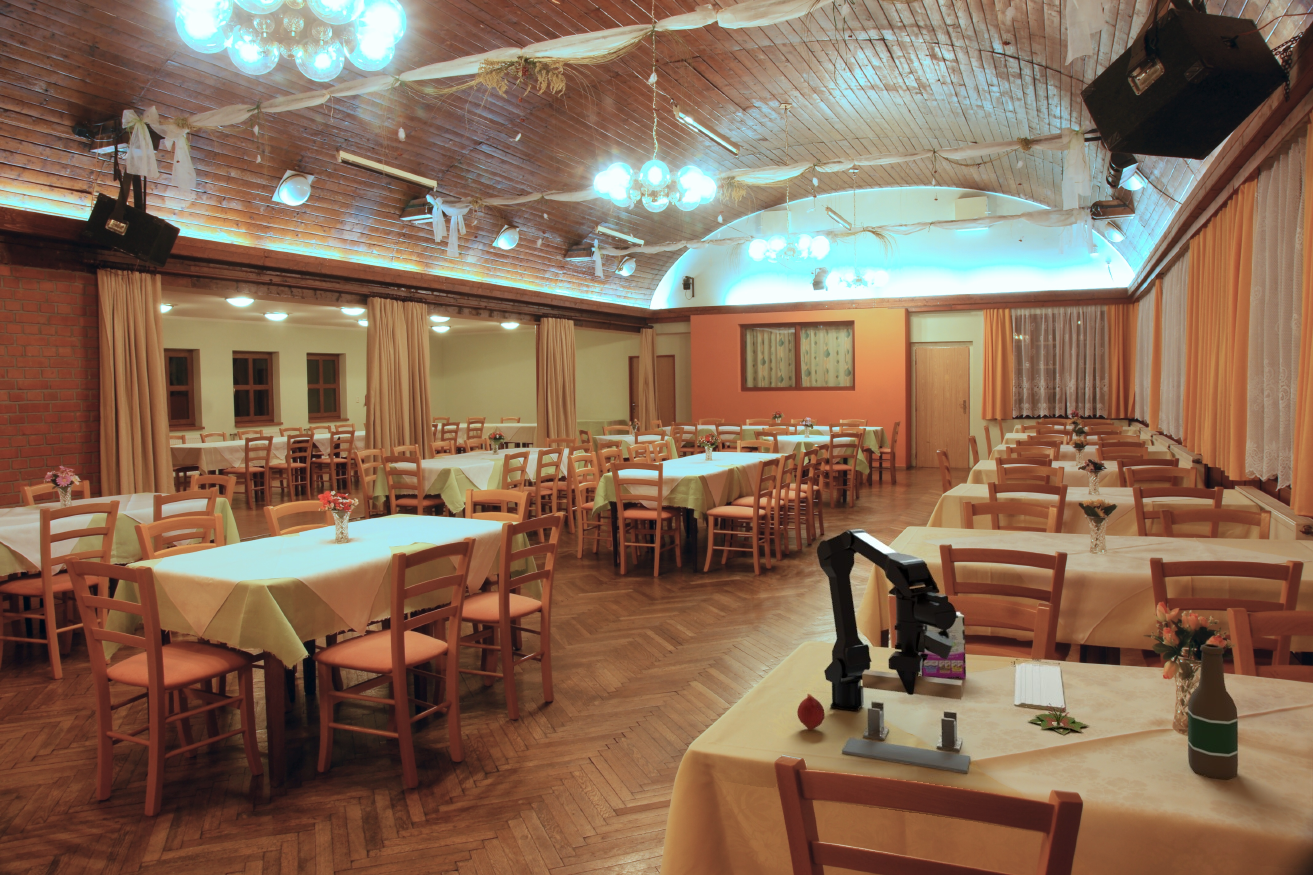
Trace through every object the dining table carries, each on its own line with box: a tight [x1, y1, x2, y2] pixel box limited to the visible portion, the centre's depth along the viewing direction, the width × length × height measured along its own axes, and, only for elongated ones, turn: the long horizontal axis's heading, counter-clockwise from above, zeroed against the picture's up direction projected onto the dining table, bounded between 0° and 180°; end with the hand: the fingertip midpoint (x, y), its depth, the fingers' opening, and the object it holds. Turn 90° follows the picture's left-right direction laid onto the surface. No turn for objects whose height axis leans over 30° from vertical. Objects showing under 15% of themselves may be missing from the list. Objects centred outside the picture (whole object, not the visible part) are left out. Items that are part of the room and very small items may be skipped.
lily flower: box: [1028, 703, 1091, 736], centre depth 176 cm, size 12×12×5 cm
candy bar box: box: [919, 611, 967, 679], centre depth 209 cm, size 11×5×16 cm, turn 82°
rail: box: [861, 669, 964, 701], centre depth 170 cm, size 20×3×3 cm, turn 64°
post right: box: [936, 710, 963, 753], centre depth 167 cm, size 4×6×6 cm
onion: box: [796, 693, 825, 731], centre depth 177 cm, size 6×6×8 cm
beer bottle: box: [1187, 643, 1239, 781], centre depth 152 cm, size 8×8×24 cm
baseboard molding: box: [1010, 658, 1066, 712], centre depth 200 cm, size 31×3×12 cm
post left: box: [862, 700, 890, 741], centre depth 174 cm, size 4×6×6 cm
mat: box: [841, 737, 971, 774], centre depth 162 cm, size 24×7×1 cm, turn 64°
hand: (911, 691), depth 170 cm, fingers closed on rail, 3 cm apart
